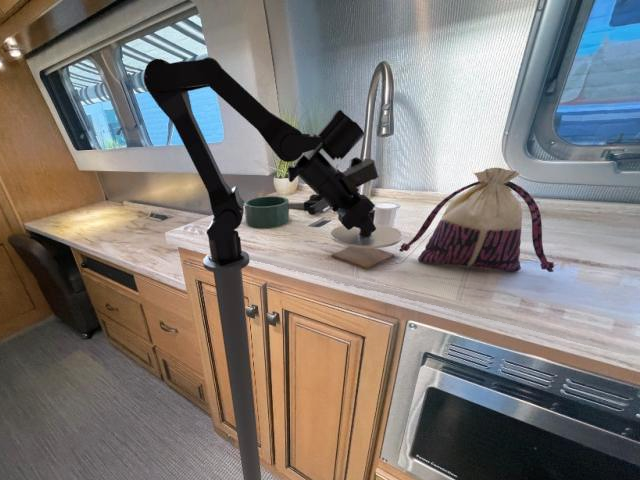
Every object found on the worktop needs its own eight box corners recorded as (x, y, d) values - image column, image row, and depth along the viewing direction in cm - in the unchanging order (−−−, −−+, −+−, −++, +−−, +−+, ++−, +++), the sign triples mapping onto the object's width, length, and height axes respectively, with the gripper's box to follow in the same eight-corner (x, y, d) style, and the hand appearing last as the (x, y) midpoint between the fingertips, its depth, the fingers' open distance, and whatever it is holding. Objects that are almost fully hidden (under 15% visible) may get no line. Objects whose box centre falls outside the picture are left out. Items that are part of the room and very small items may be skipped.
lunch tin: (263, 231, 91) (262, 210, 88) (238, 222, 102) (236, 202, 98) (297, 220, 97) (297, 200, 94) (270, 213, 107) (270, 194, 104)
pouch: (396, 267, 65) (414, 170, 55) (398, 252, 71) (415, 162, 61) (553, 284, 54) (610, 168, 44) (540, 265, 60) (588, 159, 50)
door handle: (276, 205, 107) (318, 206, 97) (304, 192, 119) (344, 192, 110) (276, 214, 108) (319, 217, 98) (304, 201, 121) (344, 202, 111)
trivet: (366, 269, 65) (366, 267, 65) (331, 256, 72) (331, 254, 72) (394, 256, 69) (394, 254, 69) (358, 245, 76) (359, 243, 76)
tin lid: (319, 244, 68) (320, 216, 65) (345, 224, 77) (348, 199, 74) (389, 256, 59) (394, 225, 56) (409, 233, 69) (415, 205, 66)
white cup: (394, 227, 85) (399, 201, 81) (396, 236, 79) (401, 209, 76) (368, 227, 87) (371, 201, 83) (368, 235, 81) (371, 208, 78)
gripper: (369, 150, 51) (424, 212, 55) (344, 141, 67) (388, 190, 71) (318, 201, 56) (373, 255, 60) (306, 182, 72) (350, 225, 76)
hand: (372, 228), depth 67 cm, fingers closed on tin lid, 3 cm apart
